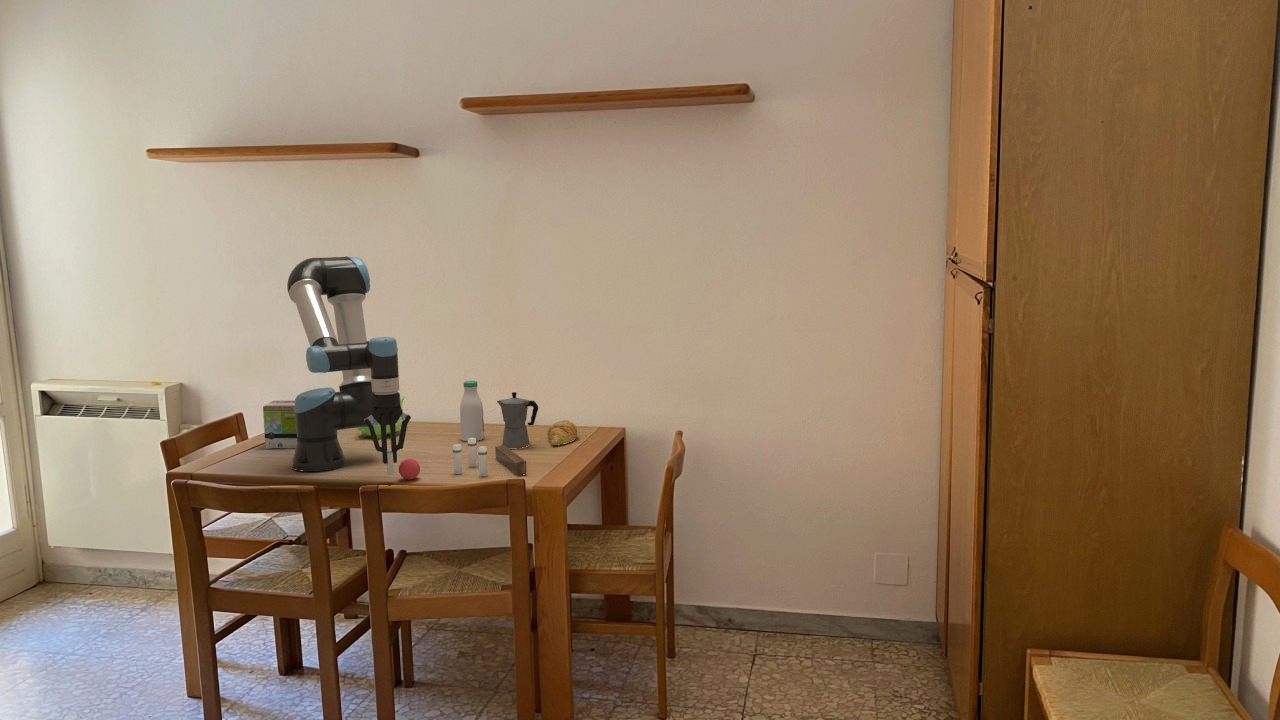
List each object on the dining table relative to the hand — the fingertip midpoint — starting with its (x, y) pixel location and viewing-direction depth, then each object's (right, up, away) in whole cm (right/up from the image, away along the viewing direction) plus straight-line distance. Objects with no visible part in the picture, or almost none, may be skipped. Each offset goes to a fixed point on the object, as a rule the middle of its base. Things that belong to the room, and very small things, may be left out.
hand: (390, 474), depth 264 cm
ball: (+5, +1, +3) cm, 6 cm away
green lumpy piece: (-19, +6, +61) cm, 64 cm away
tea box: (-45, +4, +47) cm, 65 cm away
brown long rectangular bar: (+32, 0, +16) cm, 35 cm away
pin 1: (+20, 0, +17) cm, 26 cm away
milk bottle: (+14, +5, +52) cm, 54 cm away
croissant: (+45, +5, +49) cm, 66 cm away
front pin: (+17, -1, +9) cm, 20 cm away
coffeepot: (+31, +4, +41) cm, 52 cm away
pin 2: (+25, -1, +6) cm, 26 cm away
